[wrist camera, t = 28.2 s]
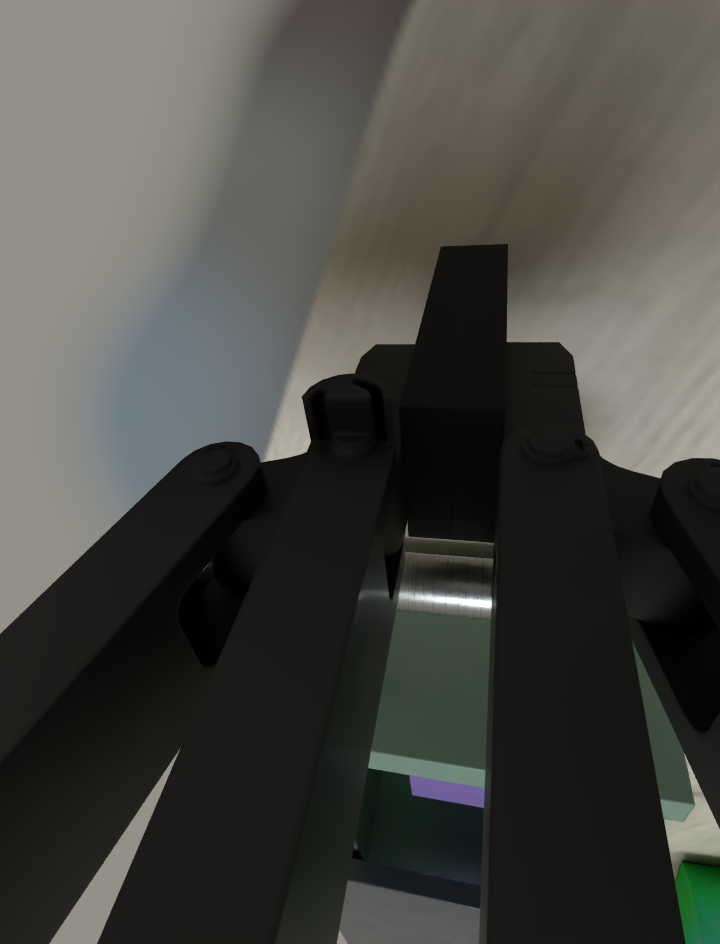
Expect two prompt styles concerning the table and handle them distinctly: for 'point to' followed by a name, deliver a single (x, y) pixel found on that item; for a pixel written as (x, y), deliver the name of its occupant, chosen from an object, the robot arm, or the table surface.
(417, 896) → the charcoal drawer box
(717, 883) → the apple
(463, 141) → the table surface
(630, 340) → the table surface
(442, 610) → the green drawer
